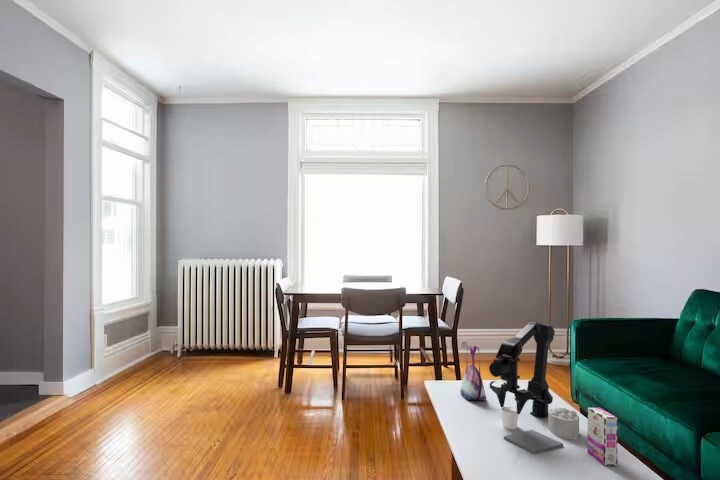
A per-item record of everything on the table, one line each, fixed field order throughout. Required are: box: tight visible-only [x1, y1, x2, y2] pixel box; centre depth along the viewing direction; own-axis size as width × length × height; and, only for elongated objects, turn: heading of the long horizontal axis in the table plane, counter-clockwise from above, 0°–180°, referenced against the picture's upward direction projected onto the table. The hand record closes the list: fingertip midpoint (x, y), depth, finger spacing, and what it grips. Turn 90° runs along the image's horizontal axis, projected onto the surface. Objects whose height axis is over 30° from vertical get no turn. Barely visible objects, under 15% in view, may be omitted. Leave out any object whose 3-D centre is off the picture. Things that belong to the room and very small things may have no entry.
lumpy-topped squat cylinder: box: [547, 407, 580, 440], centre depth 193 cm, size 10×13×9 cm
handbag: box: [459, 345, 487, 401], centre depth 238 cm, size 21×10×25 cm, turn 6°
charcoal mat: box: [503, 429, 564, 455], centre depth 183 cm, size 15×15×1 cm
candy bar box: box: [586, 406, 619, 467], centre depth 170 cm, size 11×5×16 cm, turn 4°
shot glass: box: [500, 406, 519, 430], centre depth 200 cm, size 7×7×7 cm
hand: (510, 410), depth 200 cm, fingers open, 9 cm apart
